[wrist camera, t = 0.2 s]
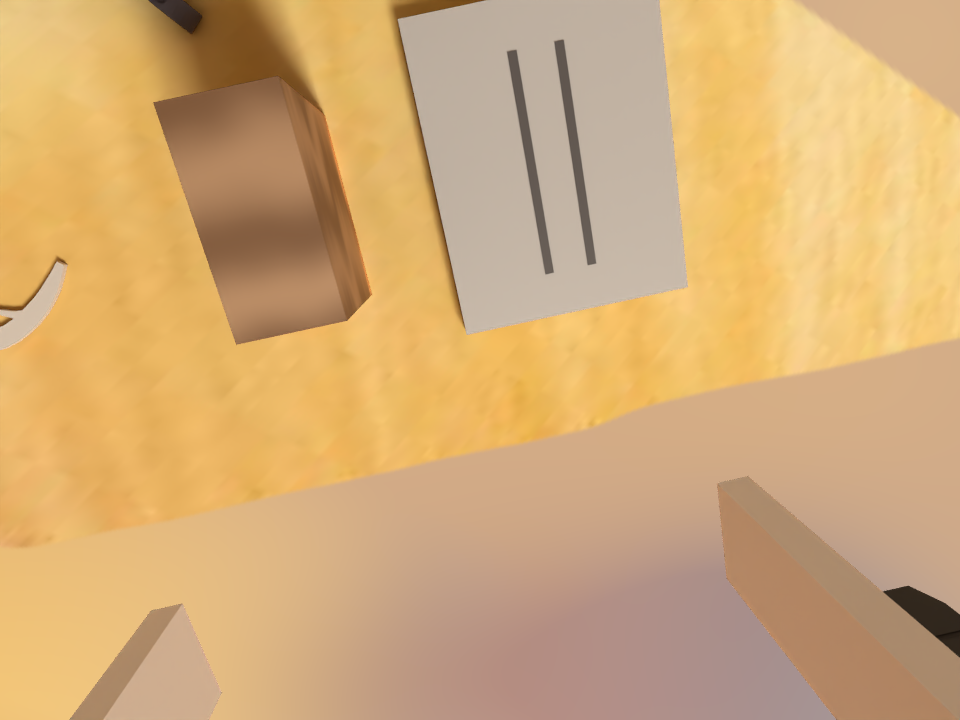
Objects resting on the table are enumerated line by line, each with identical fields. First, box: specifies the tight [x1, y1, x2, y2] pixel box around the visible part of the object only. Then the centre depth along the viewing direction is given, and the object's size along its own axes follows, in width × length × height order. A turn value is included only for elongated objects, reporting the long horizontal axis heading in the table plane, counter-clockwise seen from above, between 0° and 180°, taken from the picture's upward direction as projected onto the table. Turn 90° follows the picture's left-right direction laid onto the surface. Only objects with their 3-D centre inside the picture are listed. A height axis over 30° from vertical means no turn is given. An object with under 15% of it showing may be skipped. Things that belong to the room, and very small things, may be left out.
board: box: [398, 0, 688, 335], centre depth 35 cm, size 20×16×2 cm
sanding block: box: [153, 76, 372, 345], centre depth 31 cm, size 12×6×10 cm, turn 12°
